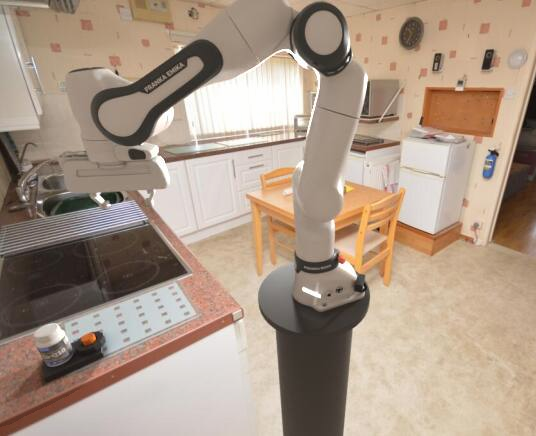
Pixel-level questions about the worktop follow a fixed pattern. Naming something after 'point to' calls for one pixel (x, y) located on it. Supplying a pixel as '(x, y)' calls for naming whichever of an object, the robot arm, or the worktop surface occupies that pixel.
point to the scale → (77, 357)
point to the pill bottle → (53, 345)
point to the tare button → (88, 339)
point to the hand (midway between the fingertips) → (128, 207)
